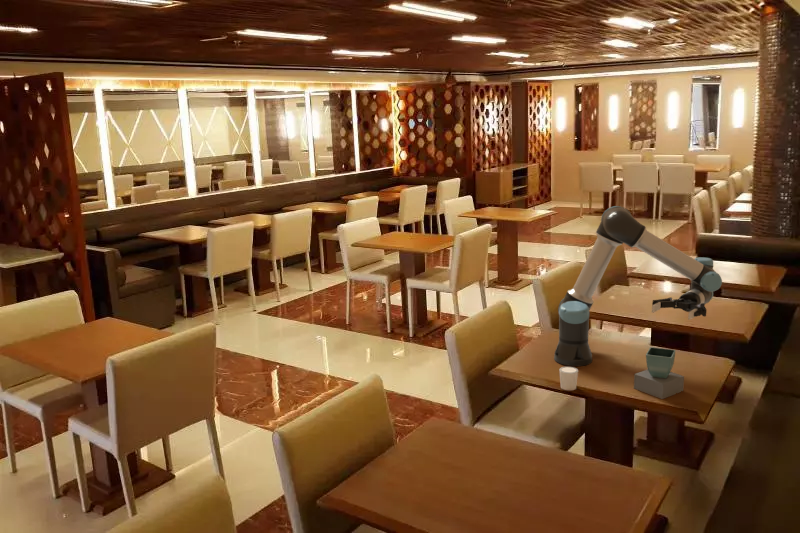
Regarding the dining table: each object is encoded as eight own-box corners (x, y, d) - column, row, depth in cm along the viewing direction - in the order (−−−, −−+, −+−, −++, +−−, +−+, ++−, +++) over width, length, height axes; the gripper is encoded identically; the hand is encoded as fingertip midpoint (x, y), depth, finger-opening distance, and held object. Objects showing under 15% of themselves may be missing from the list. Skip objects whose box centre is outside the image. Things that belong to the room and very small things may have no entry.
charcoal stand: (633, 389, 245) (634, 373, 244) (654, 381, 251) (655, 366, 250) (662, 400, 235) (663, 384, 234) (683, 391, 242) (684, 376, 240)
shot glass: (576, 383, 251) (576, 366, 249) (579, 391, 244) (579, 373, 243) (557, 383, 252) (558, 366, 250) (560, 391, 245) (560, 373, 243)
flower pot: (644, 377, 240) (645, 354, 238) (649, 369, 247) (650, 346, 245) (670, 381, 236) (671, 357, 234) (674, 373, 243) (675, 349, 241)
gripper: (723, 316, 257) (704, 329, 242) (659, 304, 274) (637, 315, 259) (725, 297, 256) (706, 309, 241) (660, 286, 272) (639, 297, 257)
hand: (670, 312), depth 250 cm, fingers open, 13 cm apart
